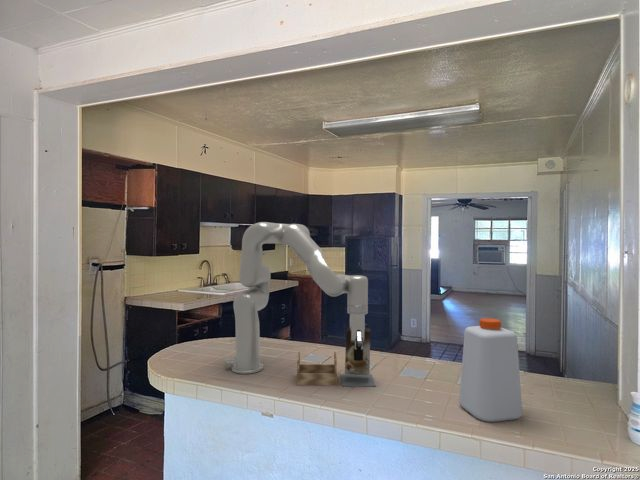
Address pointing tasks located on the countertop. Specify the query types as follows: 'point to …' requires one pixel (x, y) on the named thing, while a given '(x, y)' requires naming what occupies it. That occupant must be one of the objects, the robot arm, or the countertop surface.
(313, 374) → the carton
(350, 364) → the coffee box
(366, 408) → the countertop surface
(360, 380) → the mat
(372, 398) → the countertop surface
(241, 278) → the robot arm
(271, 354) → the countertop surface
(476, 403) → the plastic bottle
